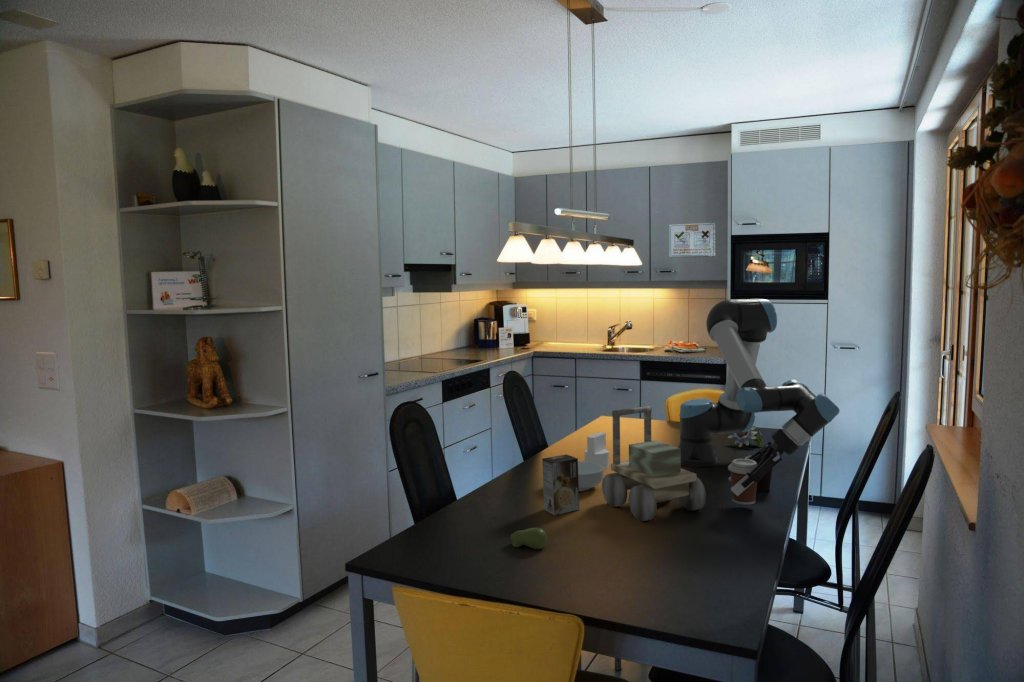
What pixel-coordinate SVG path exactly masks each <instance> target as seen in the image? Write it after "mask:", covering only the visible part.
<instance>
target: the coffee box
mask: <svg viewBox="0 0 1024 682" xmlns="http://www.w3.org/2000/svg"><path fill="white" fill-rule="evenodd" d="M541 459H542V462H541V463H542V484H543V485H542V486H543V487H542V490H543V491H542V492H543V510H544V511H545V512H548V513H550V514H551V515H553V516H557V515H562V514H566V513H571V512H576V511H579V510H580V494H579V493H580V491H579V483H578V461H579V460H578V459H579V458H578V457H575V456H572V455H569V454H562V455H561V454H560V455H554V456H549V457H545V458H544V457H543V458H541Z"/></svg>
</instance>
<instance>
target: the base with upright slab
mask: <svg viewBox="0 0 1024 682" xmlns="http://www.w3.org/2000/svg"><path fill="white" fill-rule="evenodd" d="M606 438H607V436H606V433H605V432H602V431H601V432H600V431H599V432H596V433H593V434H590V435H588V436H586V442H587V443H586V446H587V447H586V449H585V450H584V462H592V463H597V464H599V465H601V466H603V468H604V470H607V469H609V467H610V451H609V449H607V439H606Z"/></svg>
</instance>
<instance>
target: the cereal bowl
mask: <svg viewBox="0 0 1024 682" xmlns="http://www.w3.org/2000/svg"><path fill="white" fill-rule="evenodd" d="M604 473H605V469H604V468H603V466H601V465H599V464H597V463H592V462H585V461H579V460H578V483H579V492H585V491H589V490H591V488H594V487H595V486H596V487H597V486H598V485H599V484H600V483H602V481H603V478H604V475H605V474H604Z"/></svg>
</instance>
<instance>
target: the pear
mask: <svg viewBox="0 0 1024 682" xmlns="http://www.w3.org/2000/svg"><path fill="white" fill-rule="evenodd" d="M510 542H511V544H512V545H511V546H512V547H514V548H519V547H522V546H526V547H528V548H531V549H534V550H540V549H543V548H544V547H545V546H546V545H547V542H548V536H547V533H546V531H545V530H544V529H542V528H541V527H529V528H525V529H524V530H522V529H521V530H516V531H514V533H511V534H510Z"/></svg>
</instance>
